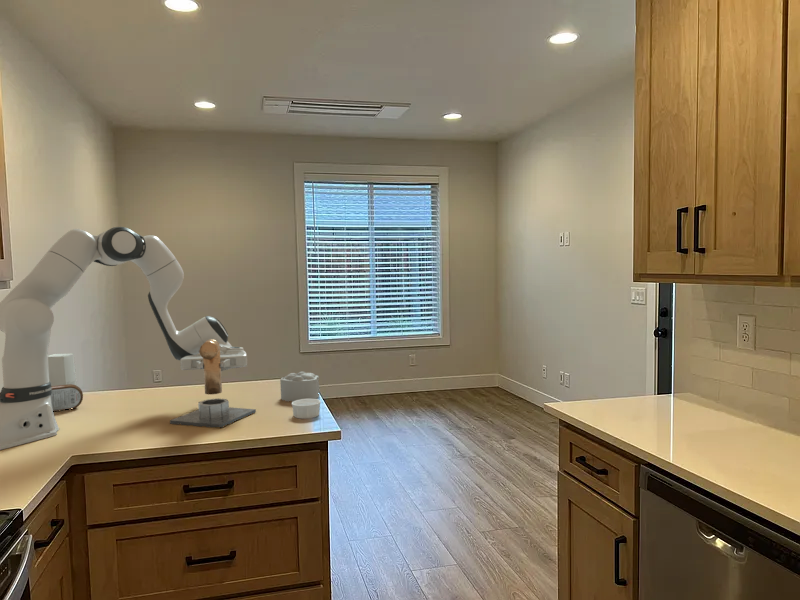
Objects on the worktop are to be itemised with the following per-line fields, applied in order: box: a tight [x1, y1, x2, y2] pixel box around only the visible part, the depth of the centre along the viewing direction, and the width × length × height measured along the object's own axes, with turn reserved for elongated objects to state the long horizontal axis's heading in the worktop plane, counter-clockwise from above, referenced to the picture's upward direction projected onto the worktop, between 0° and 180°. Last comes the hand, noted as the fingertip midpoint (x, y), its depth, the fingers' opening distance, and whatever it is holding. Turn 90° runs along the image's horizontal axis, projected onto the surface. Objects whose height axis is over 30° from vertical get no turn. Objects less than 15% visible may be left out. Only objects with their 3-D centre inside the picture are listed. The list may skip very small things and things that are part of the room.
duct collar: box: [169, 398, 257, 428], centre depth 181 cm, size 18×18×5 cm
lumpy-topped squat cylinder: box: [280, 371, 320, 403], centre depth 204 cm, size 10×13×9 cm
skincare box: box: [48, 353, 78, 386], centre depth 214 cm, size 8×7×16 cm
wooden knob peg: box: [199, 339, 223, 395], centre depth 178 cm, size 10×5×16 cm, turn 11°
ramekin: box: [291, 398, 321, 420], centre depth 181 cm, size 9×9×4 cm
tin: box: [51, 384, 84, 412], centre depth 194 cm, size 15×3×8 cm, turn 123°
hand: (211, 365), depth 179 cm, fingers closed on wooden knob peg, 5 cm apart
